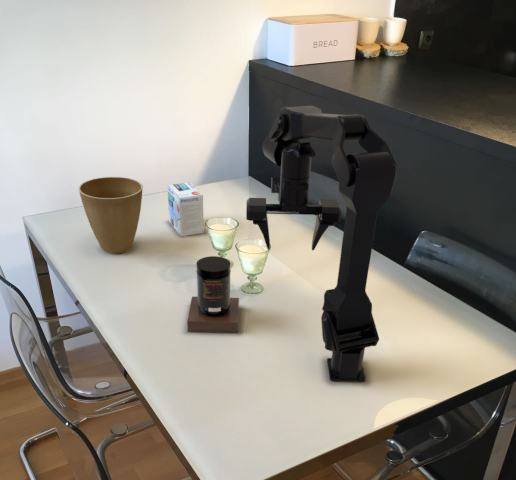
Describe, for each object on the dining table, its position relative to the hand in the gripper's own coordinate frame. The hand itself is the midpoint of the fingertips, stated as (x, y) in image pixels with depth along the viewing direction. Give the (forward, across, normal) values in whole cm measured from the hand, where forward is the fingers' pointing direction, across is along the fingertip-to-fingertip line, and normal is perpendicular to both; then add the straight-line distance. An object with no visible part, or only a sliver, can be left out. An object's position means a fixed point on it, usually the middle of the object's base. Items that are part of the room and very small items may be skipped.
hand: (290, 249), depth 124 cm
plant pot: (+13, +42, -26) cm, 51 cm away
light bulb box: (+13, +26, -40) cm, 49 cm away
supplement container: (+10, +16, +8) cm, 20 cm away
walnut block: (+13, +16, +7) cm, 22 cm away
